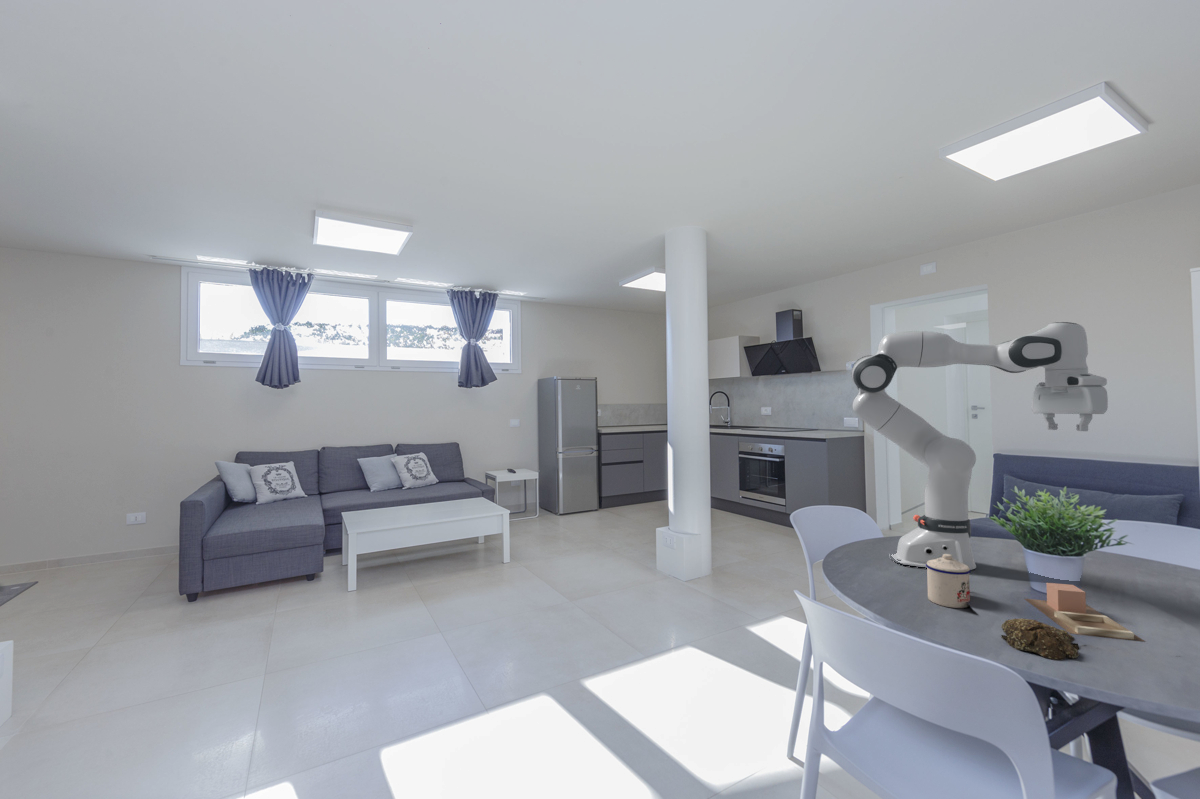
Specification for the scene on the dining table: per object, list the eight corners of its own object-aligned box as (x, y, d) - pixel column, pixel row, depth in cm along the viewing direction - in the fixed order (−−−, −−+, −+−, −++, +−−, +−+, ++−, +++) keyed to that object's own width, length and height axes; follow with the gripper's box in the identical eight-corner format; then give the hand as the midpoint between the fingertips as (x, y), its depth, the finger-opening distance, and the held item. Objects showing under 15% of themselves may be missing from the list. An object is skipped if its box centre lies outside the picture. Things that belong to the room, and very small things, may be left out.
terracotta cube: (1058, 612, 114) (1057, 589, 114) (1047, 603, 119) (1046, 582, 119) (1086, 614, 113) (1085, 592, 113) (1073, 606, 117) (1072, 584, 117)
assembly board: (1070, 640, 104) (1069, 627, 104) (1024, 604, 122) (1023, 593, 122) (1145, 649, 100) (1145, 635, 100) (1086, 610, 119) (1085, 599, 119)
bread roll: (1000, 627, 111) (1000, 604, 111) (1078, 643, 103) (1077, 619, 103) (998, 649, 101) (997, 623, 101) (1083, 668, 93) (1082, 641, 93)
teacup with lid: (966, 612, 118) (965, 562, 119) (922, 601, 125) (921, 554, 125) (977, 598, 127) (976, 552, 127) (935, 589, 133) (933, 545, 133)
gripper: (1024, 382, 150) (1025, 428, 150) (1087, 378, 130) (1088, 432, 130) (1046, 382, 150) (1047, 429, 150) (1113, 378, 130) (1114, 432, 129)
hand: (1066, 430), depth 140 cm, fingers open, 8 cm apart
